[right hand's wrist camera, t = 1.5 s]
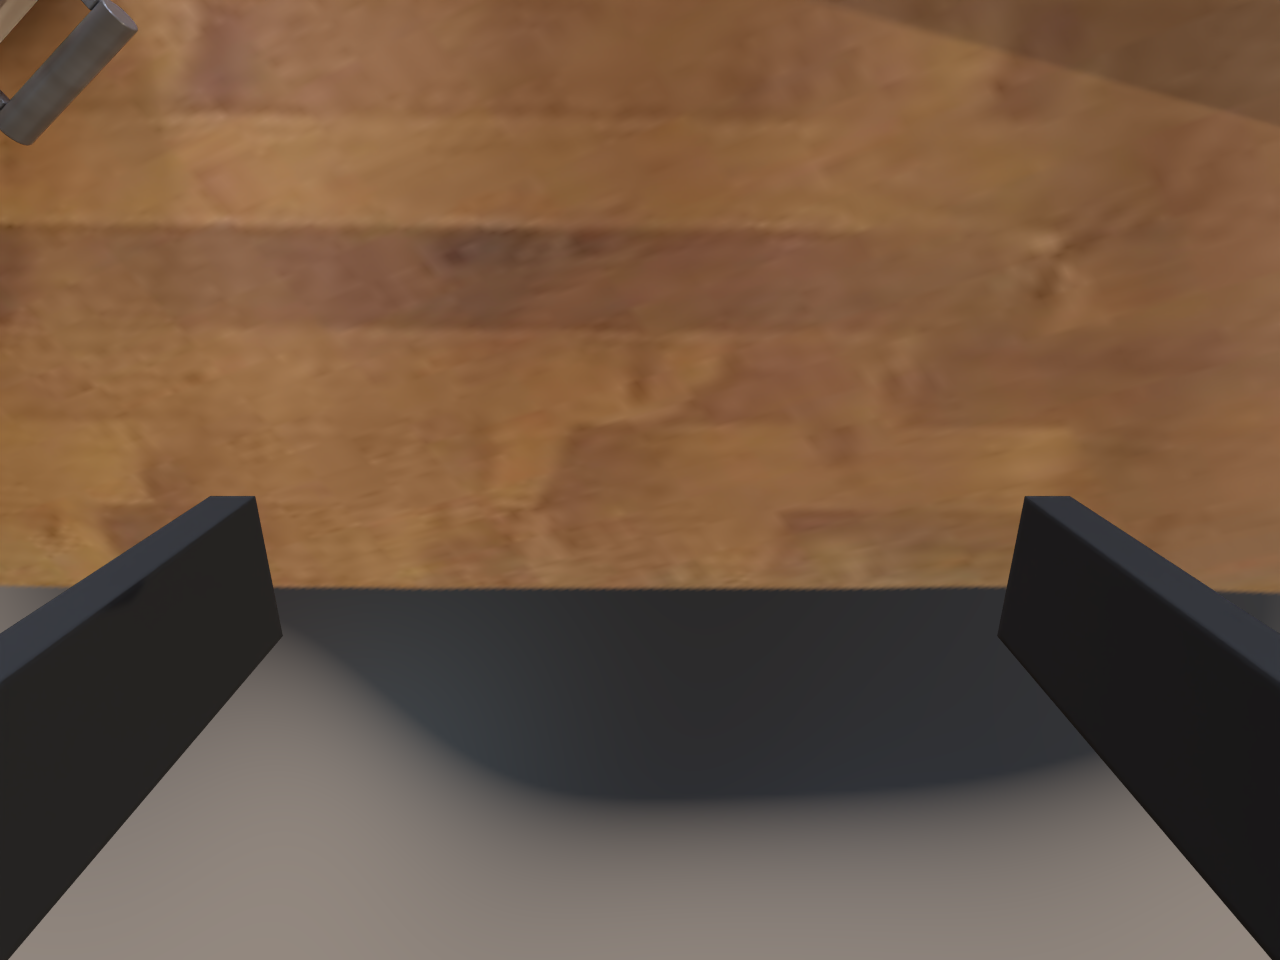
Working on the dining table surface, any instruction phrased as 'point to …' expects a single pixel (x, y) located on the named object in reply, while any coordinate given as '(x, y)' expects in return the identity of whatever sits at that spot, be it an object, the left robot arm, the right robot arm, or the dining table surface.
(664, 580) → the dining table surface
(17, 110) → the drawer
